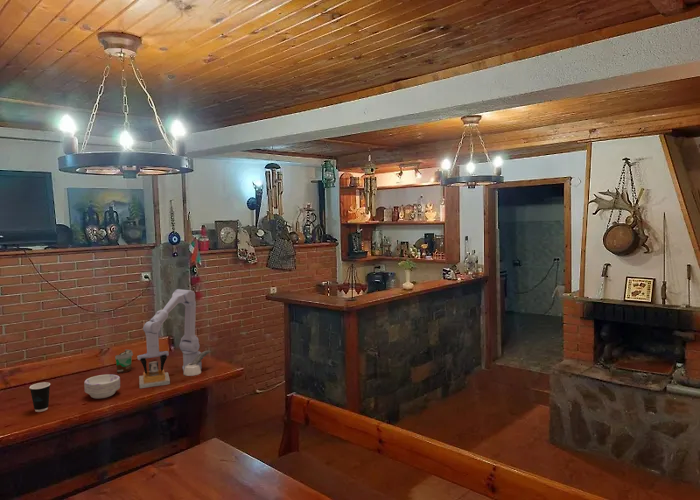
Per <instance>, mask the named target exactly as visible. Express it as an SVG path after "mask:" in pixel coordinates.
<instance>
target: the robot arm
mask: <svg viewBox="0 0 700 500" xmlns="http://www.w3.org/2000/svg"><path fill="white" fill-rule="evenodd" d="M178 304H183V306H184V307H185V309H184V332H183V333H184V334H183V336H182V337H180V342H179V349H180V351H181V353H182V362H183V363H182V364H183V365H182V366H181V367H182V371H183V372H184V369H185V366H186V365H188V364H189V363H193V361H194V359H195V358H196V357H197V356H198V355H199V354H200V353H202V352H201V351H199V350H200V347H201V346H200V340H199V337H198V336H197V335H196V312H197V311H196V309H197V302H196V293H195V291H193V290H191V289H181V288H177V289H175V290H174V291H173V293H172V296H171V297H170V299H169V300H168V302H167V303H166V304H165V306H164V307H163V308H162V309H159V310H157V311H156V313H155V314H154V316H152V317H151V318H150V319H149V321H146V322H145V323H144V325H143V327H142V330H143V332H144V333H145V334H144V335H145V340H146V353H144V354H139V355H137V360H138V361H140V363H141V365H142V367H143V369H144V370H143V371H144V372H145V373H147V371H148V369H147V359H151V358H157V357H159V358H160V370H161V371H163V369H164V366H165V363H166V360H167V359H168V356H170V355H169V351H168V350H165V351H160V345H159V343H160V342H159V339H160V338H159V332H160V331H161V329H162V324H164V322H165V321H166V320H168V318H169V313H170V312H172V310H174V308H176V306H177V305H178ZM198 365H199V366H200V369H201V370H202V369H203V368H202V361H201V362H199V363H198Z"/></svg>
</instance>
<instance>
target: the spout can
mask: <svg viewBox="0 0 700 500" xmlns="http://www.w3.org/2000/svg"><path fill="white" fill-rule="evenodd" d="M159 370H160V369H159V362H158V361H156V360H155V361H154V360H153V361H150V362H148V371H149V376H156V375H159Z"/></svg>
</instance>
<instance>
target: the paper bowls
mask: <svg viewBox="0 0 700 500" xmlns="http://www.w3.org/2000/svg"><path fill="white" fill-rule="evenodd" d="M83 383H84V393H86V394H88V395H89V396H90V397H91V398H93V399H98V400H99V399H106V398H110V397H113V395H114V394H115V393H116V392H117V391H118V390H120V388H121V377H120V376H119V375H117V374H112V373H111V374H99V375H94V376H91V377H88V378H86V379H85V380H84V382H83Z"/></svg>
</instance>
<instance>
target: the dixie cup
mask: <svg viewBox="0 0 700 500" xmlns="http://www.w3.org/2000/svg"><path fill="white" fill-rule="evenodd" d="M50 387H51V383H50V382H47V381H46V382H45V381H44V382H37V383H34V384H31V385H30V386H29V390H30V394H31V395H30V396H31V400H32V404H33V409H34V411H35V412H37V413H41V412H45V411H47V410H48V409H49V404H50V403H49V402H50V389H51V388H50Z"/></svg>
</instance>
